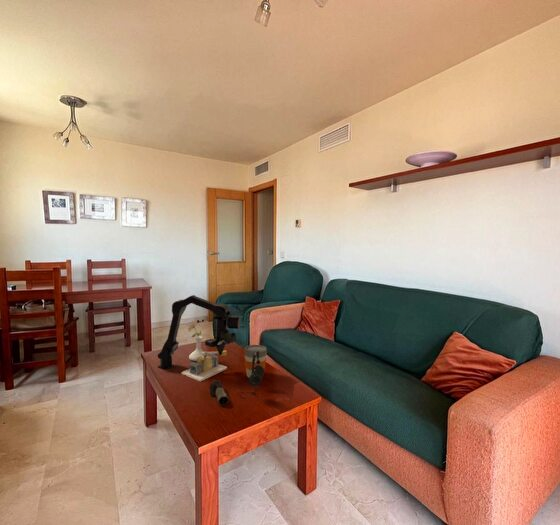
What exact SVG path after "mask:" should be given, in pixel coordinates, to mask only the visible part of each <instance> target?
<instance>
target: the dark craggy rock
mask: <svg viewBox="0 0 560 525" xmlns="http://www.w3.org/2000/svg"><path fill="white" fill-rule="evenodd" d="M208 390H209V394H210V395H211V396H216V399H217V402H218V405H220V406H226V405H228V404H229V401H230V400H229V397H228V395H227V392H226V391H225V389H224V384H223V383H222V381H221V380H220V379H213V380H212V381H211V382H210V384H209V389H208Z"/></svg>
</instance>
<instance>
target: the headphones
mask: <svg viewBox="0 0 560 525" xmlns="http://www.w3.org/2000/svg"><path fill="white" fill-rule="evenodd" d="M256 355H257V363H256V364H260V356H259V351H255V352H254V354H253V359H252V372H251V375H250V376H249V377H248V382H249V385H250V386H251V387H254V388H256V387H257V388H258V386H260V384H261V383H262V379H263V376H264V375H265V368H263V367H262V366H261V365H256V366H255V367H254V363H255V358H256ZM257 391H258V389H255V391H253V392H250V394H251V393H252V394H253V395H255V392H257ZM242 394H244V395H246V396H248V394H246V392H240V395H239V396H240V398H241V399H247V397H245V398H244V397H241V395H242ZM252 394H251V395H252Z"/></svg>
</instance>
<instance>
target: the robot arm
mask: <svg viewBox="0 0 560 525" xmlns="http://www.w3.org/2000/svg"><path fill="white" fill-rule="evenodd" d="M191 304H193V305H195V306H197V307H201V308H203V309H206V310H208V311H210V312H211V313H213V314H214V315H215V316H214V317H213V318H212V320H215V321H216V325H215V327H216V328H214V332H215V336H214V339H213V338H209V339H206V340H205V341H204V346H206V347H209V348H216V350H217V351H218V353H219V354H218V356H219V355H222V352H223V350H224V349H225V347H226V345H230V344H233V343H234V341H236V340H237V333H236V332H229V329H235V330H240V329H241V324H242V322H241V316H233V315H232V313H231V312H230V309H229V307H228V305H227V304H223V303H219V302H218V303H215V302H212V301H210V300H207V299H205V298H201V297H198V296H196V295H193V294H192V295H190V296H188V297H186V298H184V299H178V300H177V301H174V302H173V303H172V305H171V314H172V318H171V321H170V326H169V331H168V335H167V339H166V340H165V342H164V343H163V346H162V348H161V351H160V352H159V353H158V354H157V357H158V359H159V360H160V362H159V365H158V366H157V368H159V367H160V369H162V368H163V369H162V370H167V368H168V369H169V367H170V368H172V366H173V367H174V366H175V364H173V356H172V355H174V353H175V351H177V350H178V348H179V343H180V342H178V341H177V337H178V332H179V328H180V324H181V320H182V316H183V314H184V313H185V311H186V309H187V307H188V306H189V305H191Z"/></svg>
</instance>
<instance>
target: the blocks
mask: <svg viewBox="0 0 560 525" xmlns="http://www.w3.org/2000/svg"><path fill="white" fill-rule="evenodd" d="M218 364H219V355H216V354H211V355H208V356H206V357H205V358H204V357H202V356H200V357H198V358H197V361H195V362H194V361H191V362H189V369H190V373H191V374H194V375H196V376H197V375H199V374H200V373H202V372H206V371H209V370H211V369H212V368H213V367H217V366H218Z"/></svg>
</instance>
